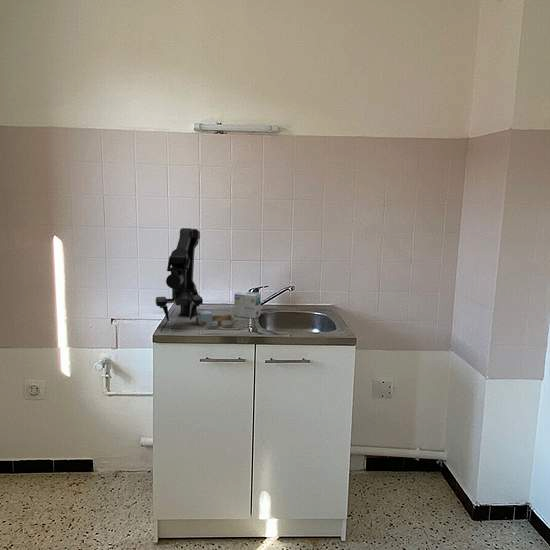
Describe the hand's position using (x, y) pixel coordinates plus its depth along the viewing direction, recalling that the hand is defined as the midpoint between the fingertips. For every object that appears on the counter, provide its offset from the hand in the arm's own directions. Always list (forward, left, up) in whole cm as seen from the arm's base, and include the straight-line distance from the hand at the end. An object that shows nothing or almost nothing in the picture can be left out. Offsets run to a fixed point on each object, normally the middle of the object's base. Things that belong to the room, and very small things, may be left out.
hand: (179, 320), depth 202 cm
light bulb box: (+19, +27, -2) cm, 33 cm away
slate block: (+8, +7, -2) cm, 11 cm away
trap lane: (+14, +9, -2) cm, 16 cm away
